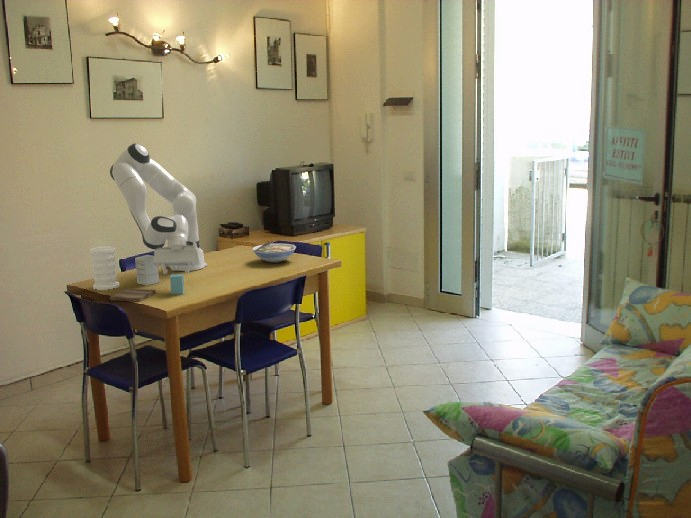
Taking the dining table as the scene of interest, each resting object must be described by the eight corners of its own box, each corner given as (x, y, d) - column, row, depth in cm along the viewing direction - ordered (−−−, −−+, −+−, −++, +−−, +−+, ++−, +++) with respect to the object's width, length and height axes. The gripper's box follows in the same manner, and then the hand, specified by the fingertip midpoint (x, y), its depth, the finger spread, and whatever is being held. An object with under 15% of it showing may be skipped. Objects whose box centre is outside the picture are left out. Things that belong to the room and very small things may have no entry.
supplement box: (150, 280, 330) (148, 254, 328) (159, 282, 326) (157, 256, 323) (136, 283, 325) (134, 257, 322) (146, 285, 320) (144, 259, 317)
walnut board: (126, 291, 310) (126, 288, 310) (155, 293, 307) (155, 289, 307) (109, 300, 297) (109, 296, 296) (139, 301, 294) (139, 298, 293)
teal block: (172, 291, 309) (171, 274, 307) (184, 291, 309) (183, 273, 307) (171, 294, 304) (169, 276, 302) (183, 294, 304) (181, 276, 303)
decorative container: (121, 283, 326) (117, 245, 322) (117, 289, 315) (113, 250, 311) (95, 284, 325) (91, 246, 321) (90, 290, 313) (86, 251, 310)
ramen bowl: (287, 267, 351) (286, 251, 349) (245, 265, 357) (244, 250, 355) (303, 257, 375) (302, 242, 373) (263, 255, 380) (262, 241, 379)
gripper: (153, 244, 312) (150, 270, 305) (199, 242, 314) (198, 268, 307) (155, 251, 318) (153, 277, 310) (200, 250, 320) (199, 275, 312)
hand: (176, 272), depth 309 cm, fingers open, 8 cm apart
